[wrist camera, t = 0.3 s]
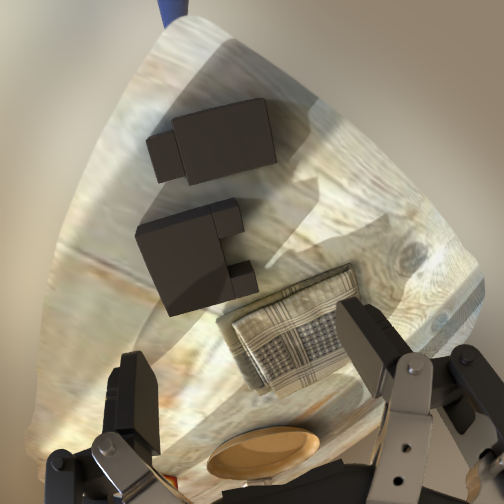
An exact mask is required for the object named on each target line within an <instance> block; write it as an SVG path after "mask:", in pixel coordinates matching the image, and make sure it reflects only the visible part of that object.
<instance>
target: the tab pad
mask: <svg viewBox="0 0 504 504" xmlns="http://www.w3.org/2000/svg"><path fill="white" fill-rule="evenodd" d="M171 122H172V126H173V130H170V131H167V132H163V133H160V134H157V135H154V136H151V137H149V138H148V139H147V140H146V144H147V148H148V151H149V155H150V158H151V161H152V165H153V168H154V171H155V175H156V178H157V181H158V183H163V182H166V181H169V180H172V179H176V178H179V177H182V176H185V175H186V177H187V181H188V184H189V186H191V185H194V184H198V183H201V182H205V181H208V180H212V179H216V178H219V177H223V176H227V175H231V174H235V173H238V172H242V171H246V170H250V169H254V168H258V167H263V166H267V165H271V164H275V163H277V160H276V155H275V150H274V144H273V139H272V134H271V129H270V124H269V119H268V113H267V109H266V104H265V99H264V98H256V99H251V100H246V101H241V102H236V103H232V104H227V105H223V106H219V107H215V108H210V109H206V110H202V111H199V112H195V113H191V114H187V115H184V116H180V117H177V118H173V119H172V120H171Z"/></svg>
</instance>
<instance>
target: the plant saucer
mask: <svg viewBox="0 0 504 504" xmlns="http://www.w3.org/2000/svg"><path fill="white" fill-rule="evenodd" d="M319 446H320V439H319V438H318V437H317V436H316V435H315V434H314V433H312V432H311V431H308V430H306V429H303V428H298V427H291V426H277V427H269V428H263V429H258V430H254V431H251V432H247V433H245V434H242V435H239V436H237V437H235V438H233V439H231V440H229V441H227V442H225V443H224V444H222V445H221V446H220V447H219V448H217V449H216V450H215V451H214V452H213V454H212V455H211V456H210V458H209V460H208V462H207V470H208V472H209V473H210V474H212V475H213V476H216V477H218V478H222V479H227V480H251V479H258V478H264V477H268V476H272V475H275V474H278V473H281V472H284V471H286V470H289V469H291V468H293V467H295V466H297V465H299V464H301V463H303V462H304V461H306V460H307V459H308V458H310V457H311V456H312V455H313V454H314V453H315V452H316V451H317V450H318V448H319Z"/></svg>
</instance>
